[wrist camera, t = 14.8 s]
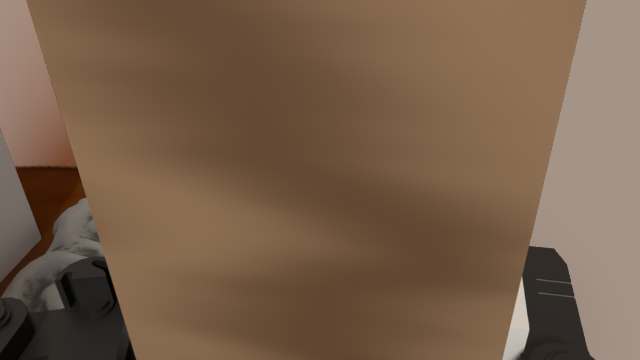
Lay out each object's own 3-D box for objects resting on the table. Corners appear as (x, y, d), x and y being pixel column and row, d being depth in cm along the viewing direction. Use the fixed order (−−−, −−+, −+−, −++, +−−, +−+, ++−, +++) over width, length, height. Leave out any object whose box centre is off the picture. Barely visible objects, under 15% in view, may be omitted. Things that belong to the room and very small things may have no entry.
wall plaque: (87, 216, 43) (74, 173, 41) (325, 270, 38) (325, 223, 35) (-268, 532, 25) (-327, 484, 22) (98, 728, 19) (67, 689, 17)
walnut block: (215, 618, 16) (9, -56, 6) (270, 427, 21) (205, -120, 11) (429, 668, 15) (597, -45, 5) (435, 455, 20) (527, -121, 10)
